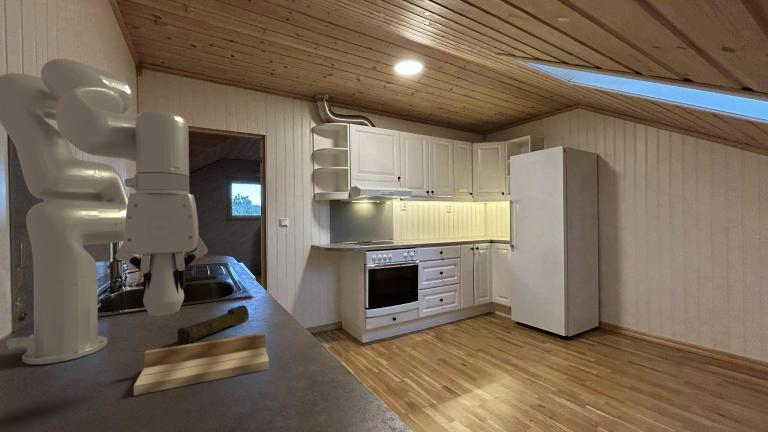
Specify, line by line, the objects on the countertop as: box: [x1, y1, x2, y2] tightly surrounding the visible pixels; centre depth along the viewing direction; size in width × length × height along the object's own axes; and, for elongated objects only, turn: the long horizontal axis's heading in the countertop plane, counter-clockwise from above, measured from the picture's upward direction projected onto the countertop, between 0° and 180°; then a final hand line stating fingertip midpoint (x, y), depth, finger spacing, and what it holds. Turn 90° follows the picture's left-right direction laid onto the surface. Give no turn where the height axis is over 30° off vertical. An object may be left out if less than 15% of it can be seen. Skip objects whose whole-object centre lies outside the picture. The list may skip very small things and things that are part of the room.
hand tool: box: [177, 305, 250, 345], centre depth 80 cm, size 19×4×5 cm, turn 155°
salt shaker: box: [142, 253, 185, 317], centre depth 55 cm, size 6×6×13 cm
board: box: [133, 332, 270, 396], centre depth 60 cm, size 20×10×4 cm, turn 115°
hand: (164, 293), depth 55 cm, fingers closed on salt shaker, 3 cm apart
